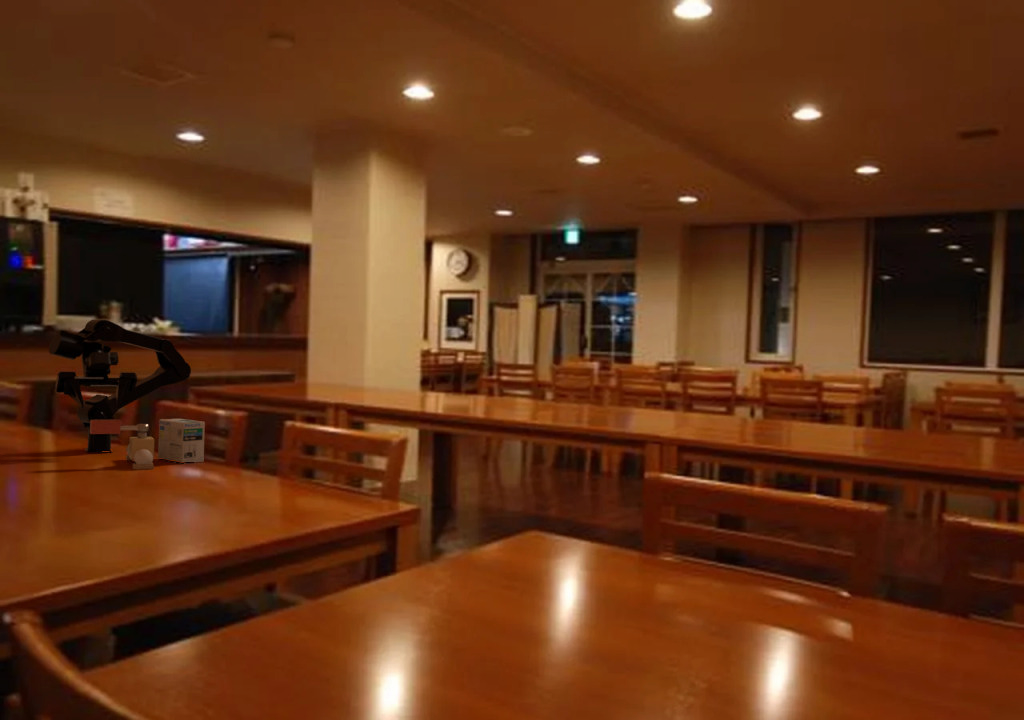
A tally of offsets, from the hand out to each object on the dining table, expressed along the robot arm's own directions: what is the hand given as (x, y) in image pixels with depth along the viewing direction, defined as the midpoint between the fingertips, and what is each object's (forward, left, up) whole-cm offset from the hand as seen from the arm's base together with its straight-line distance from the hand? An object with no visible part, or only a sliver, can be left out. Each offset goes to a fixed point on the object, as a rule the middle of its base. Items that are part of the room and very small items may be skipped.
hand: (100, 406), depth 210 cm
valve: (+11, +8, -14) cm, 19 cm away
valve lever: (+14, +3, -5) cm, 15 cm away
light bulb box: (+7, +19, -14) cm, 24 cm away
